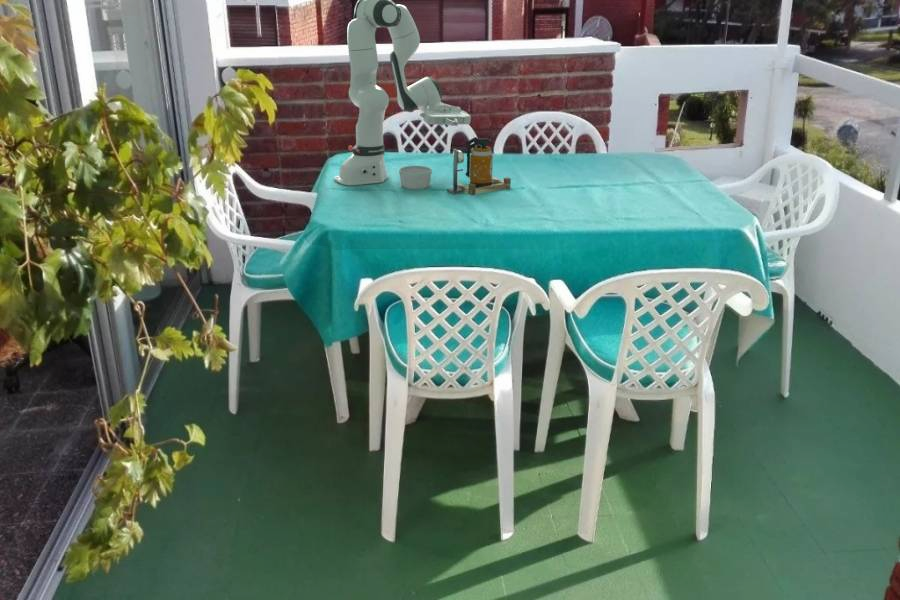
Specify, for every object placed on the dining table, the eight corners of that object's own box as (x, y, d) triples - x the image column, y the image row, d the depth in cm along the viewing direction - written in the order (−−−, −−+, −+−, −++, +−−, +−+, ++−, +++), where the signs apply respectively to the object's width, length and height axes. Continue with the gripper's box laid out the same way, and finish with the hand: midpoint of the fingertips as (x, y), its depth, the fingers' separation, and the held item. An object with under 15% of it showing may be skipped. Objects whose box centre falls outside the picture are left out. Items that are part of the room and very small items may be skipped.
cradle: (452, 187, 340) (452, 178, 338) (491, 180, 350) (491, 171, 349) (471, 195, 330) (471, 185, 329) (510, 187, 340) (510, 178, 339)
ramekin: (427, 191, 335) (427, 174, 332) (395, 189, 337) (395, 172, 334) (434, 183, 347) (434, 166, 344) (403, 181, 349) (403, 164, 346)
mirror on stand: (453, 194, 331) (453, 151, 324) (446, 191, 335) (446, 148, 328) (465, 192, 334) (466, 149, 327) (458, 189, 338) (459, 146, 331)
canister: (491, 189, 338) (493, 140, 330) (464, 189, 338) (465, 139, 331) (491, 183, 346) (493, 135, 338) (465, 183, 347) (465, 134, 339)
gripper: (419, 106, 348) (433, 116, 337) (462, 106, 357) (477, 116, 346) (417, 121, 350) (431, 131, 340) (460, 121, 360) (475, 131, 349)
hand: (455, 123), depth 343 cm, fingers closed
